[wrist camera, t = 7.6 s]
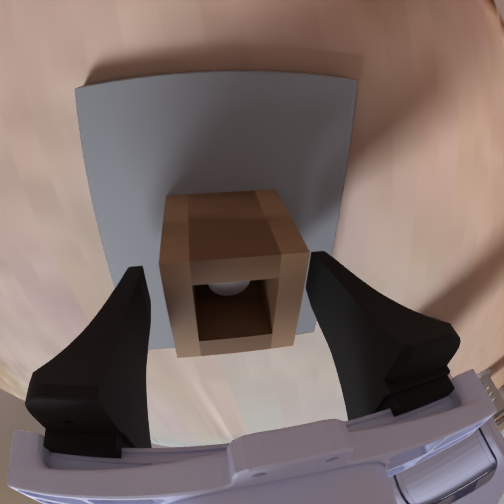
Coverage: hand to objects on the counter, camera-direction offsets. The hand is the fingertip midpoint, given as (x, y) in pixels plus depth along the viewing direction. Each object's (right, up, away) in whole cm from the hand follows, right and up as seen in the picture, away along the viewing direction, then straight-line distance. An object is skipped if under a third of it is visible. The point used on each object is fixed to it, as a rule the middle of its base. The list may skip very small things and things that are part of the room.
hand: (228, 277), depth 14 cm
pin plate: (-1, +2, +3) cm, 4 cm away
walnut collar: (-1, +2, +2) cm, 3 cm away
